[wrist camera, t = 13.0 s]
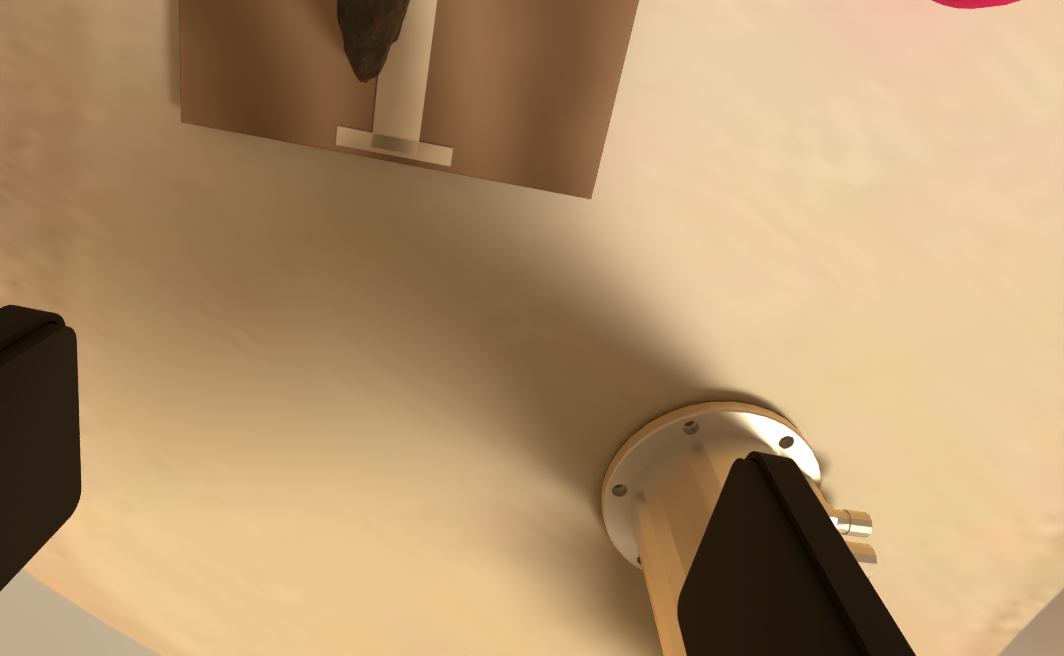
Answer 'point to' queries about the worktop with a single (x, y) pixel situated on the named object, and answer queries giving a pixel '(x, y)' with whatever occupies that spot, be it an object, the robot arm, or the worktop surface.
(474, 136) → the board
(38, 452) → the robot arm
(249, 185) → the worktop surface
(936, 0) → the pepper mill
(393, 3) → the hand tool
